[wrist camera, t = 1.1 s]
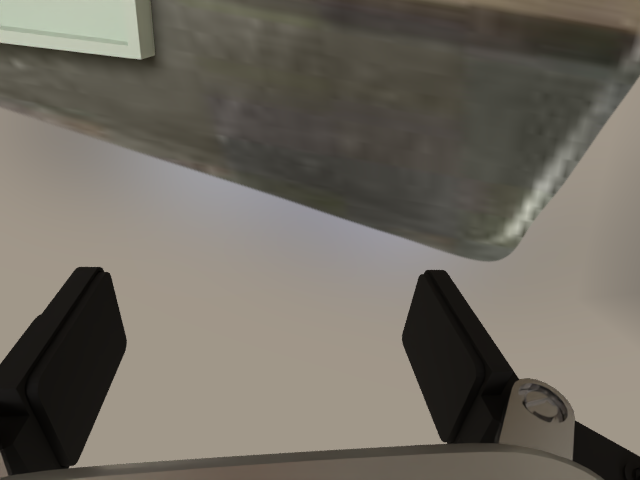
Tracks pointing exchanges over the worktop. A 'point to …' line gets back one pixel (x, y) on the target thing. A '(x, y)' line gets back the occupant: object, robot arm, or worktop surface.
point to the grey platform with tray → (80, 26)
